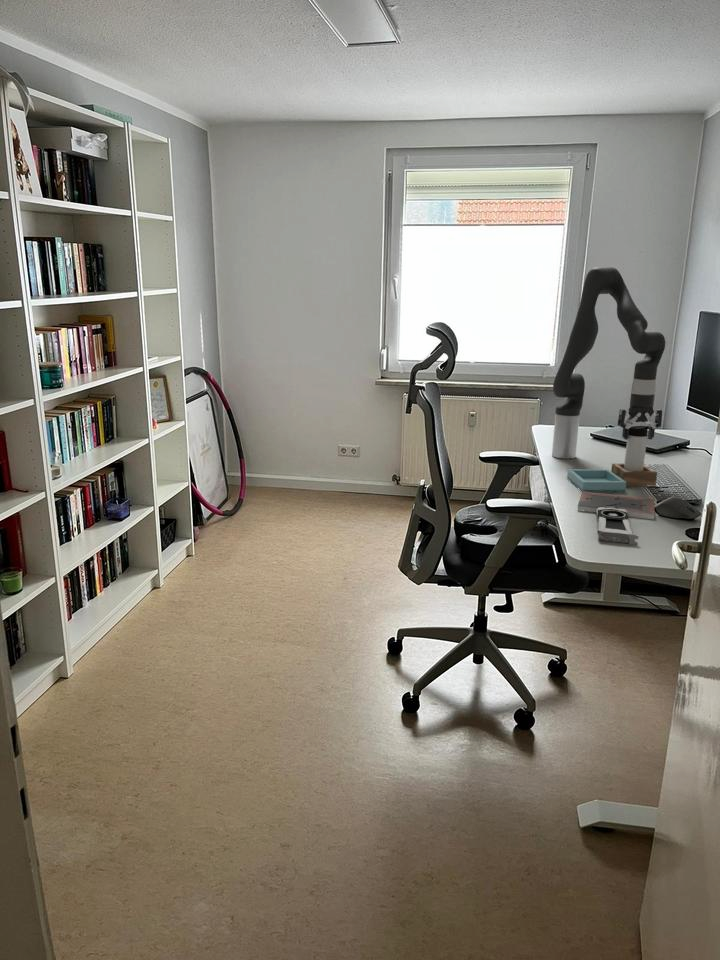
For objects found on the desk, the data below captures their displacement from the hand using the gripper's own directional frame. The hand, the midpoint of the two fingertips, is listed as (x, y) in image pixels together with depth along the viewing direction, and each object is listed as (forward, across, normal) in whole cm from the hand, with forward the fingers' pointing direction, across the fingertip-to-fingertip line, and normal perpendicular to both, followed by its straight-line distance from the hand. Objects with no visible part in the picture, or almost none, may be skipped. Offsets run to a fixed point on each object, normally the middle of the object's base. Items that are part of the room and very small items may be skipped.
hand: (637, 439), depth 235 cm
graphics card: (+16, +25, +48) cm, 57 cm away
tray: (+15, +15, +5) cm, 22 cm away
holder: (+15, 0, 0) cm, 15 cm away
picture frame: (+16, +17, +29) cm, 37 cm away
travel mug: (+15, 0, 0) cm, 15 cm away
